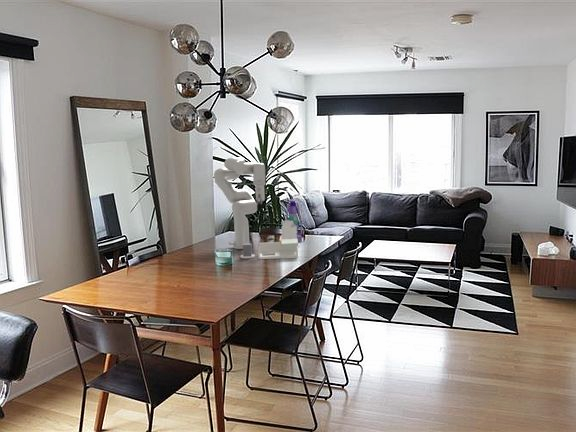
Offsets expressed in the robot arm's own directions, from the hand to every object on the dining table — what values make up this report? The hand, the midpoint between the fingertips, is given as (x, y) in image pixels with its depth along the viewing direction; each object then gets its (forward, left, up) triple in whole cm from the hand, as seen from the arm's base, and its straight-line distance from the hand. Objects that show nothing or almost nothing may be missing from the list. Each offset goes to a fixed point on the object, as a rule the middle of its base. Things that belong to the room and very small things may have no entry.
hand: (260, 209), depth 362 cm
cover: (+18, -14, -20) cm, 30 cm away
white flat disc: (-8, -14, -28) cm, 32 cm away
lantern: (+21, +34, -28) cm, 48 cm away
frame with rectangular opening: (+11, -14, -28) cm, 33 cm away
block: (-8, -14, -27) cm, 31 cm away
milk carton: (+18, +6, -28) cm, 33 cm away
